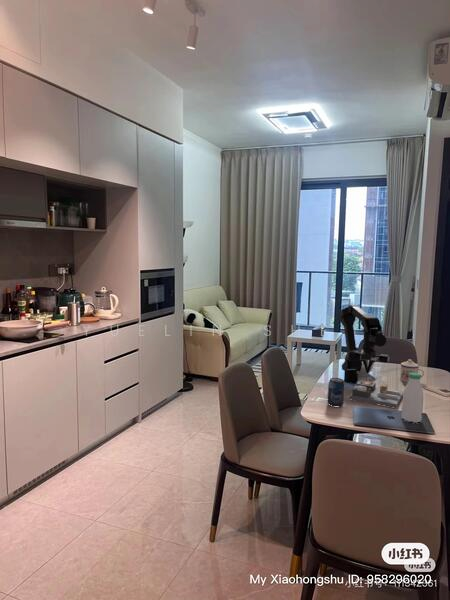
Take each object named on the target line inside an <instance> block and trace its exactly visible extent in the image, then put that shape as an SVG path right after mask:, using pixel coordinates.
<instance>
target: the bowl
mask: <svg viewBox="0 0 450 600" xmlns="http://www.w3.org/2000/svg"><path fill="white" fill-rule="evenodd" d="M368 365H369V360H368ZM374 365H375V362H374V363H373V364H372V366H371V369H370V371H369V373H366V369H365V366H364V363H363V362H362V367H361V371H358V374H359V375H358V377H359V376H360V377H363V376H364V377H367V376H368V375H369V374H370V372H371V371H372V370H373V369H374Z"/></svg>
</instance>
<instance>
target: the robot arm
mask: <svg viewBox="0 0 450 600" xmlns="http://www.w3.org/2000/svg"><path fill="white" fill-rule="evenodd" d="M338 318H339V322H340V324H341V325H342V326H343V329H344V338H345V345H346V346H345V347H346V355H345V357H344V362H342V364H341V370H342V371H344V373H343V374H344V375H343V376H344V378H343V382H344V383H347V384H354V385H355V384H356V383H358V382H359V374H358V371H361V367H362V362H363V363H364V366H365V369H366V373H369V374H370V372H371V371H370V369H371V366H372V364H373V363H374V364H375V363H376V362H377V361H379V362H380V363H389V361H390V355H389V354H384V353H381V354H377V351H376V346H377V347H380V348H381V347H384V346H385V345H386V344H387V338H386V336H385V335H384V333H383V327H382V324H381V322H380V320H379V318H378V316H375V315H371V314H369V313H367V312H366V311H365V310H363V309H362V308H361V307H360V305H357V304H350V305H348V306H347V307H345V308H342V309H341V310H340V311H339V312H338ZM356 319H358V321H360V325H361V327H362V328H363V329H362V330H361V332H363V341H362V342H363V345H362V348H361V350H360V351H359V350H357V345H356V337H355V331H354V330H355V329H354V324H355V322H356ZM368 360H369V365H368ZM369 371H370V372H369Z"/></svg>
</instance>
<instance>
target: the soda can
mask: <svg viewBox="0 0 450 600" xmlns="http://www.w3.org/2000/svg"><path fill="white" fill-rule="evenodd" d="M343 380H344V378H340V377H339V378H338V377H330V379H329V381H328V386H327V387H328V388H327V389H328V390H327V403H328V405H329V404H330V405H332V406H341V407H342V406H343V405H344V396H345V395H344V393H345V382H343ZM330 405H329V406H330Z"/></svg>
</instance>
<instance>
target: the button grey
mask: <svg viewBox="0 0 450 600" xmlns="http://www.w3.org/2000/svg"><path fill="white" fill-rule="evenodd" d="M356 386H357V390H359V391H365V392H366V391H367V387H365V386H358V385H356Z"/></svg>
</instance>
